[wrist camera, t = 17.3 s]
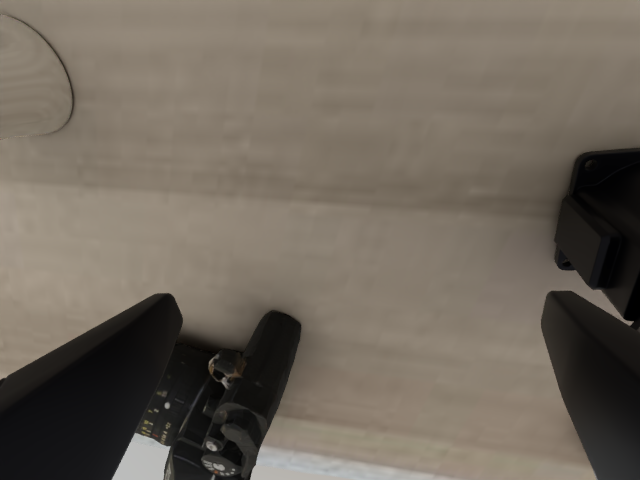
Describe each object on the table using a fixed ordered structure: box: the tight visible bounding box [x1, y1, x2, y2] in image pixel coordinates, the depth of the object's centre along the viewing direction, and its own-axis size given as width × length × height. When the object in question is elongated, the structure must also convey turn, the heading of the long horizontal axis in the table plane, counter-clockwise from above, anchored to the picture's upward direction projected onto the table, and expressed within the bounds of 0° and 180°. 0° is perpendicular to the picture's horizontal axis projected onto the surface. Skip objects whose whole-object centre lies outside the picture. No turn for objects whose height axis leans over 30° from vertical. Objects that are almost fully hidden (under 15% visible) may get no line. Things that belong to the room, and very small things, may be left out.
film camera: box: [135, 311, 301, 480], centre depth 26 cm, size 18×12×10 cm
